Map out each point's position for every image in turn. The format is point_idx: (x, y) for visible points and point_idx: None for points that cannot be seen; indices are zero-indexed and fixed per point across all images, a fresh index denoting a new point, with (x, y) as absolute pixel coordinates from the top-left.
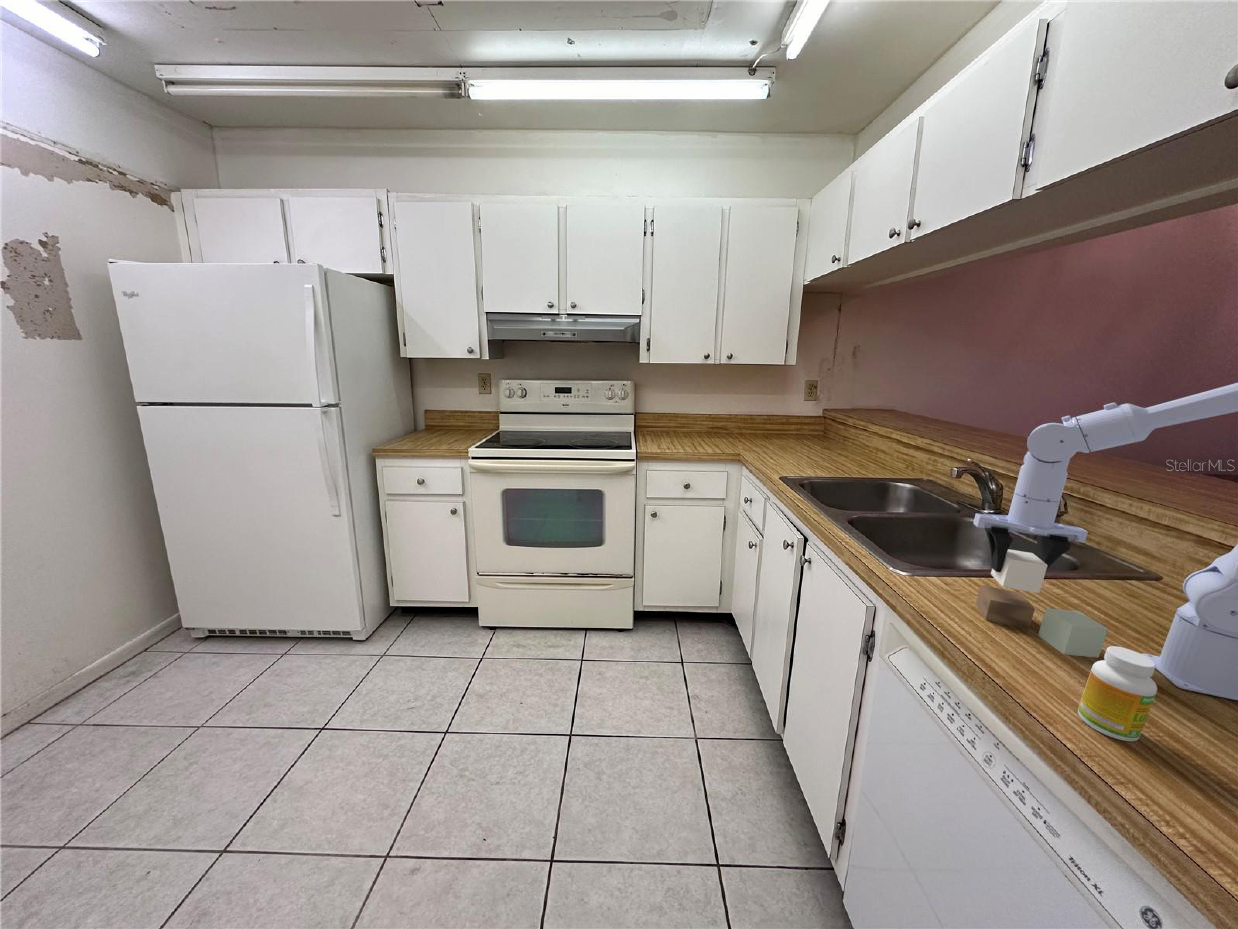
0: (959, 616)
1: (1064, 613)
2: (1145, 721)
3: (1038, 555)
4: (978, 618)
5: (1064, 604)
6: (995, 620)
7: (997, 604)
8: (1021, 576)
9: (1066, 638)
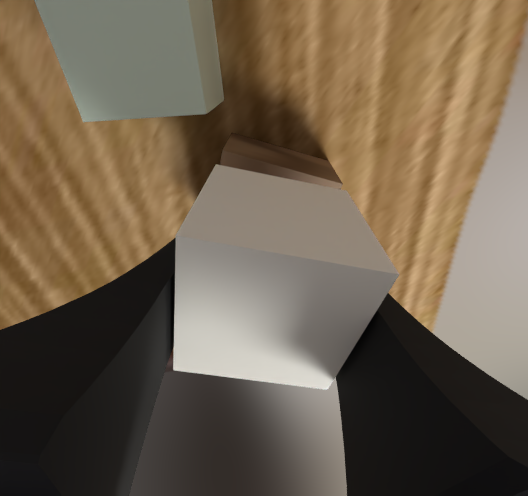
0: (395, 163)
1: (151, 80)
2: None
3: (165, 347)
4: (344, 164)
5: (81, 278)
6: (308, 156)
7: (321, 173)
8: (299, 206)
9: None
